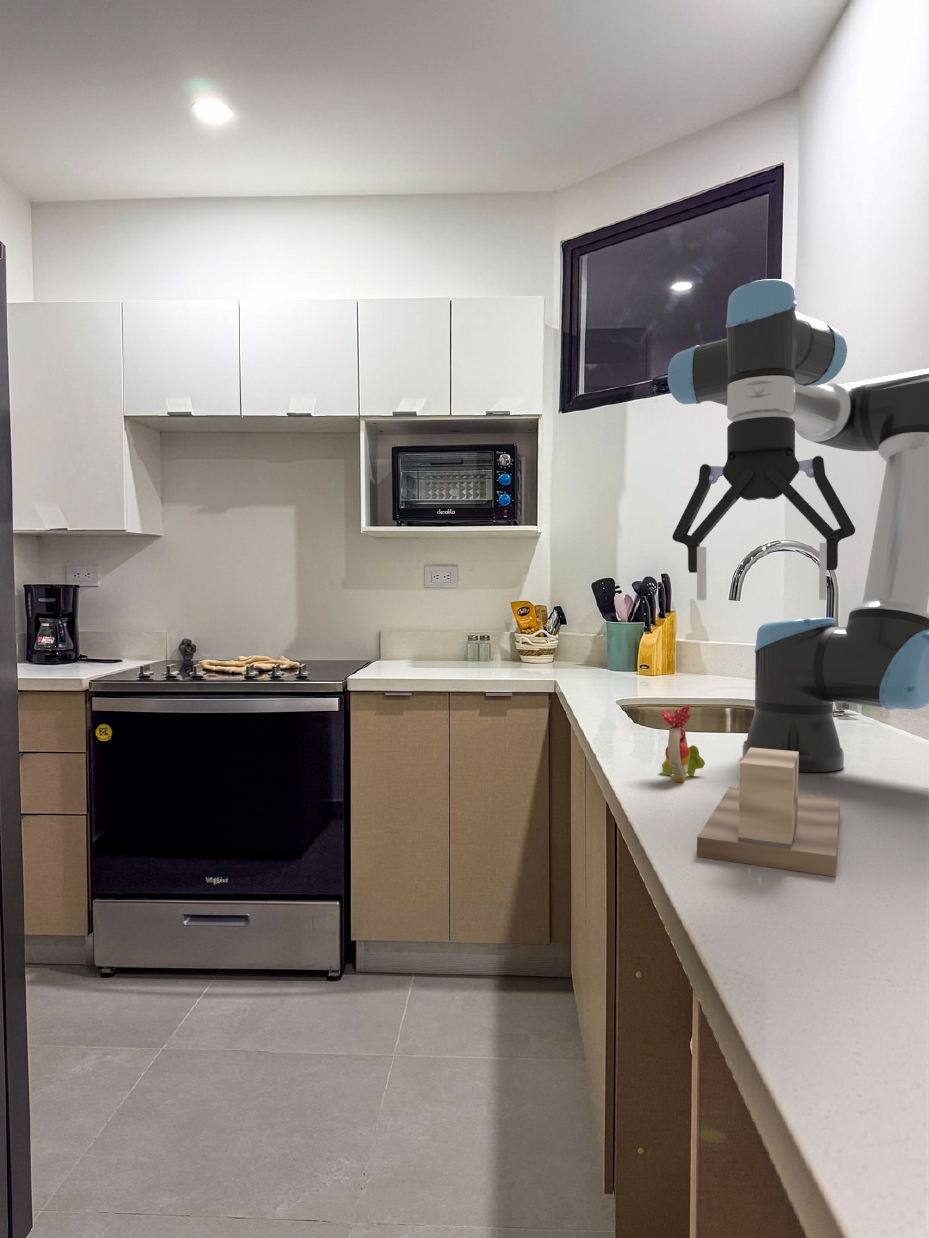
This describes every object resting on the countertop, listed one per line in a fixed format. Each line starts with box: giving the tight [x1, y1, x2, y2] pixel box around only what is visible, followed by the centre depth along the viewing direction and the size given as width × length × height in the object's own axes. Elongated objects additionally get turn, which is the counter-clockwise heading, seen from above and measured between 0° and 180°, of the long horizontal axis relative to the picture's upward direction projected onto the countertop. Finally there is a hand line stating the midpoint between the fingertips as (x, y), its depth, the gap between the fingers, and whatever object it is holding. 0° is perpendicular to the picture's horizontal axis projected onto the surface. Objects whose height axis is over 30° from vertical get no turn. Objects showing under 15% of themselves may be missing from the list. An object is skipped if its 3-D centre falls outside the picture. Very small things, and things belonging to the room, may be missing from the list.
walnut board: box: [696, 786, 841, 878], centre depth 90 cm, size 24×13×2 cm, turn 154°
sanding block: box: [738, 747, 799, 848], centre depth 84 cm, size 9×5×8 cm, turn 154°
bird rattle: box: [660, 704, 706, 783], centre depth 117 cm, size 6×11×9 cm
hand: (760, 600), depth 96 cm, fingers open, 13 cm apart
